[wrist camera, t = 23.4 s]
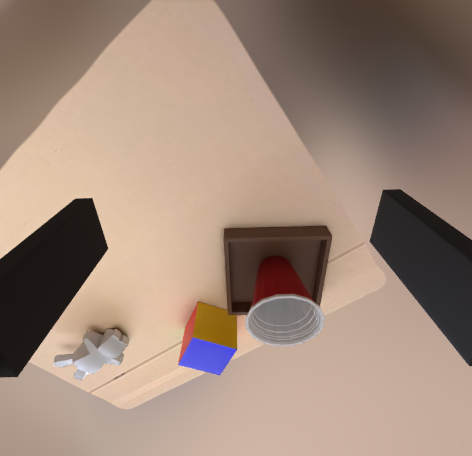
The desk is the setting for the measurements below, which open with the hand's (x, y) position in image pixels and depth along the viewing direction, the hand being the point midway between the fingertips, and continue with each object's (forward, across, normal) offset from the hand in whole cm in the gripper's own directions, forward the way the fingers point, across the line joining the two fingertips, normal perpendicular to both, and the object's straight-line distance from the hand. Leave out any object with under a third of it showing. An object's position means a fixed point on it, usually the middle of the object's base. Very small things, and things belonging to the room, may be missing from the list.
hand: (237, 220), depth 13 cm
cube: (+27, -6, -37) cm, 46 cm away
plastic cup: (+26, +6, -24) cm, 36 cm away
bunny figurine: (+27, -30, -43) cm, 59 cm away
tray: (+27, +6, -24) cm, 36 cm away
